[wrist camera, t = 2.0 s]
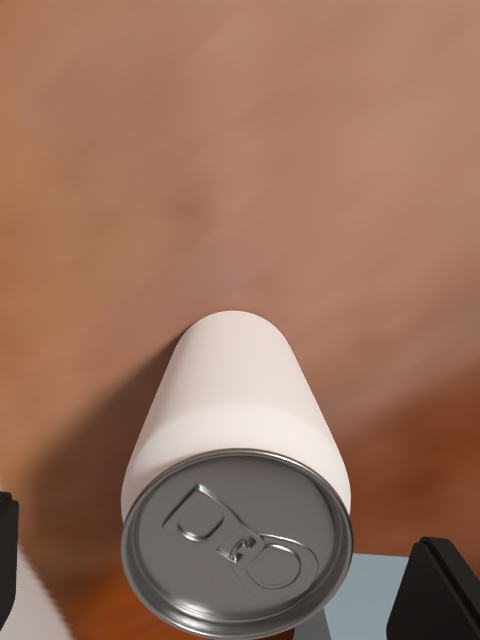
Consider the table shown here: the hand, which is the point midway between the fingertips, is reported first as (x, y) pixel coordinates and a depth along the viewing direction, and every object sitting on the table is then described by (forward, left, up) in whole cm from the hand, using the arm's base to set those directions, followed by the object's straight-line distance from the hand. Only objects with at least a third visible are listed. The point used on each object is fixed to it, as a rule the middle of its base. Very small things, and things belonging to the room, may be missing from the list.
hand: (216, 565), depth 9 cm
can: (0, 0, -12) cm, 12 cm away
